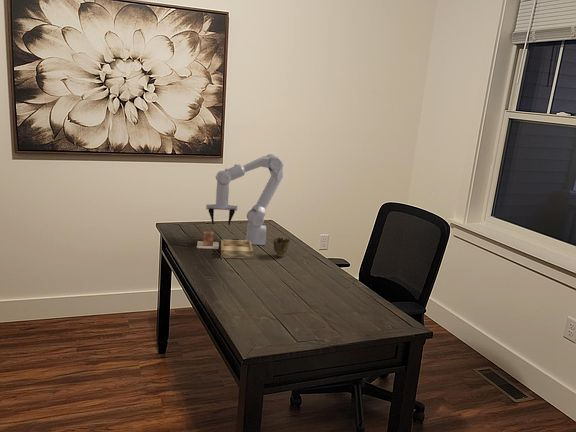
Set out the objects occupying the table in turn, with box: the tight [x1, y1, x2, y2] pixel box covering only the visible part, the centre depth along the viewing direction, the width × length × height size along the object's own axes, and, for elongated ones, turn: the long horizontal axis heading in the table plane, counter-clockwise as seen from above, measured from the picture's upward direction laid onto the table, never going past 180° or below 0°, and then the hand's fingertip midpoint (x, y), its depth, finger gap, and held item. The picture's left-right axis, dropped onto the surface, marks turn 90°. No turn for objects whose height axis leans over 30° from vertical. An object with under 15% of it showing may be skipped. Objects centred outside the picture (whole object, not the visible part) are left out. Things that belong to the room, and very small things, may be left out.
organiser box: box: [220, 239, 254, 260], centre depth 241 cm, size 14×16×4 cm
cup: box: [273, 237, 290, 258], centre depth 241 cm, size 8×7×8 cm
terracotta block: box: [202, 230, 214, 246], centre depth 248 cm, size 4×4×6 cm
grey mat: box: [196, 240, 220, 250], centre depth 248 cm, size 10×10×1 cm
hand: (220, 224), depth 251 cm, fingers open, 7 cm apart
